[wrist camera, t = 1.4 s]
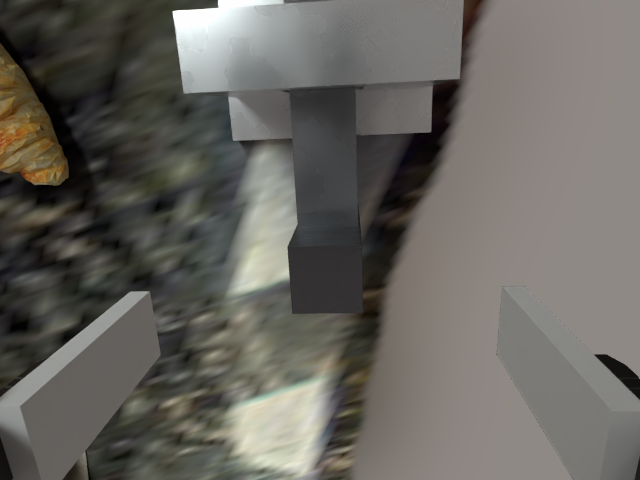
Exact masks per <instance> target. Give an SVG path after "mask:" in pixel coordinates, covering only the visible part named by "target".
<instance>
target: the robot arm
mask: <svg viewBox="0 0 640 480" xmlns="http://www.w3.org/2000/svg"><path fill="white" fill-rule="evenodd" d="M160 355H161V354H160V348H159V343H158V337H157V331H156V325H155V320H154V314H153V308H152V302H151V296H150V292H130V293H128V294H127V295H126V296H125V297H123V298H122V299H121V300H120V301H118V302H117V303H116V304H115V305H113V306H112V307H111V308H110V309H109V310H107V311H106V312H105V313H104V314H102V315H101V316H100V317H99V318H97V319H96V320H95V321H94V322H92V323H91V324H90V325H89V326H88V327H86V328H85V329H84V330H83V331H81V332H80V333H79V334H78V335H76V336H75V337H74V338H73V339H71V340H70V341H69V342H68V343H67V344H65V345H64V346H63V347H62V348H60V349H59V350H58V351H57V352H55V353H54V354H53V355H52V356H50V357H48V358H46V359H44V360H42V361H40V362H38V363H36V364H35V365H33V366H31V367H30V368H28V369H27V370H26V371H25V372H23V373H22V374H21V375H20V376H18V379H14V380H13V381H12V382H11V383H9V384H8V385H7V387H6V388H3V389H2V390H1V391H0V480H62V479H63V478H64V477H65V476H66V474H67V473H68V472H69V470H70V469H71V468H72V467H73V465H74V464H75V463H76V462H77V460H78V459H79V458H80V457H81V455H82V454H83V453H84V451H85V450H86V449H87V448H88V446H89V445H90V444H91V443H92V441H93V440H94V439H95V437H96V436H97V435H98V434H99V432H100V431H101V430H102V429H103V427H104V426H105V425H106V423H107V422H108V421H109V420H110V418H111V417H112V416H113V415H114V413H115V412H116V411H117V410H118V408H119V407H120V406H121V404H122V403H123V402H124V401H125V399H126V398H127V397H128V396H129V394H130V393H131V392H132V390H133V389H134V388H135V387H136V385H137V384H138V383H139V382H140V380H141V379H142V378H143V376H144V375H145V374H146V373H147V371H148V370H149V369H150V368H151V366H152V365H153V364H154V363H155V361H156V360H157V359H158V357H159V356H160ZM497 356H498V357H499V359H500V360H501V362H502V364H503V365H504V367H505V369H506V370H507V372H508V374H509V375H510V377H511V379H512V380H513V382H514V383H515V385H516V387H517V388H518V390H519V391H520V393H521V395H522V396H523V398H524V400H525V401H526V403H527V405H528V406H529V408H530V410H531V411H532V413H533V415H534V416H535V418H536V420H537V421H538V423H539V424H540V426H541V428H542V429H543V431H544V433H545V434H546V436H547V438H548V439H549V441H550V442H551V444H552V446H553V447H554V449H555V451H556V452H557V454H558V456H559V457H560V459H561V460H562V462H563V464H564V465H565V467H566V469H567V470H568V472H569V474H570V475H571V477H572V479H573V480H640V379H639V377H638V376H637V375H636V374H635V373H634V372H633V371H632V370H631V369H629V368H628V367H627V366H626V365H625V364H623V363H621V362H619V361H617V360H615V359H614V358H612V357H610V356H608V355H604V354H603V355H594V354H593V353H592V352H590V351H589V350H588V349H587V348H586V347H585V346H584V345H583V344H582V343H581V342H580V341H579V340H578V339H577V338H576V337H575V336H574V335H573V334H572V333H571V332H570V331H569V330H568V329H567V328H566V327H565V326H564V325H563V324H562V323H561V322H560V321H559V320H558V319H557V318H556V317H555V316H554V315H553V314H552V313H551V312H550V311H549V310H548V309H547V308H546V307H545V306H544V305H543V304H542V303H541V302H540V301H539V300H538V299H537V298H536V297H535V296H534V295H533V294H532V293H531V292H530V291H529V290H528V289H527V288H526V287H525V286H503V287H502V296H501V308H500V319H499V331H498V344H497Z"/></svg>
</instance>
